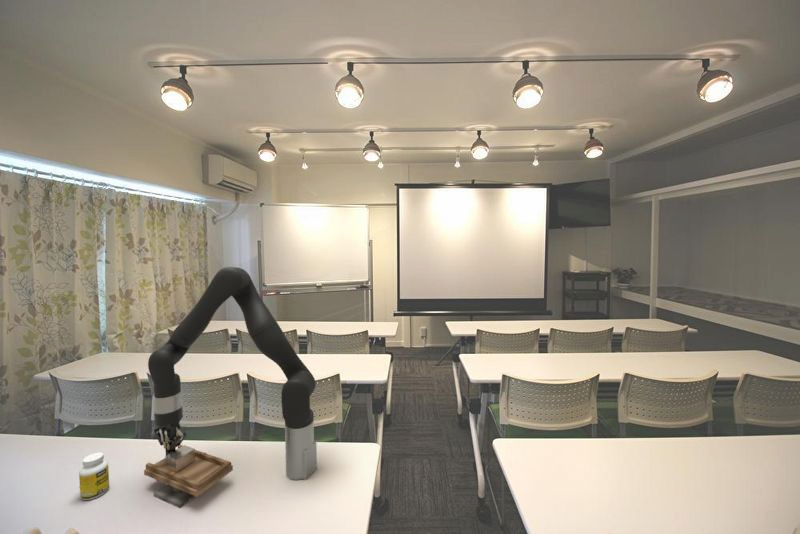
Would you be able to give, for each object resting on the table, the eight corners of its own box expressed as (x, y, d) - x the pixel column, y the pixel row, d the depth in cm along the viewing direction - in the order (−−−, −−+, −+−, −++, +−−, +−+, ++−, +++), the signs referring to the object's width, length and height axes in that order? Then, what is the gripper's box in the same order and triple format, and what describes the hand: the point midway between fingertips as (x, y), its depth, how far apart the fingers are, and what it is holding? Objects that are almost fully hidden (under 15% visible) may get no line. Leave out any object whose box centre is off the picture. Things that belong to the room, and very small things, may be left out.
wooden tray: (235, 481, 105) (235, 458, 104) (194, 514, 92) (193, 488, 91) (185, 462, 114) (184, 441, 113) (141, 490, 101) (140, 466, 100)
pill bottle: (91, 503, 96) (89, 465, 95) (74, 499, 97) (72, 462, 96) (115, 487, 102) (113, 451, 101) (98, 484, 103) (96, 449, 103)
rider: (195, 460, 105) (194, 448, 105) (176, 472, 100) (175, 459, 100) (184, 456, 107) (184, 445, 107) (165, 468, 102) (165, 455, 102)
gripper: (193, 405, 105) (195, 456, 107) (167, 398, 110) (169, 447, 112) (169, 416, 99) (172, 471, 100) (142, 408, 104) (145, 460, 105)
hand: (170, 458), depth 106 cm, fingers closed
